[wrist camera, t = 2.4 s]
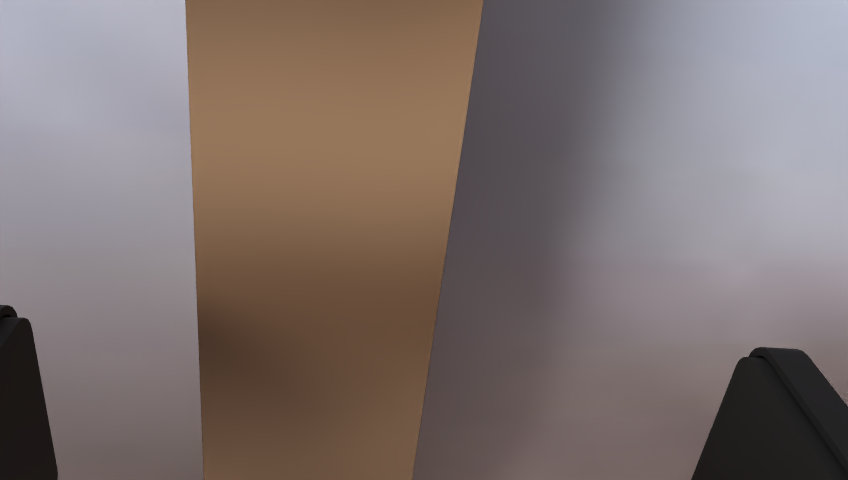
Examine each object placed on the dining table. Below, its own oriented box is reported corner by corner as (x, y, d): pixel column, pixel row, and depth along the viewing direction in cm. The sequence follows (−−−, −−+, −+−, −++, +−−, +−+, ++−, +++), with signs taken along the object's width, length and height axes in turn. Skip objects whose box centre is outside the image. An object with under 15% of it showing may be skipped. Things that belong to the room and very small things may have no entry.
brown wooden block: (367, 547, 21) (373, 735, 17) (240, 547, 21) (214, 741, 17) (489, -500, 11) (589, -705, 6) (233, -548, 10) (153, -805, 6)
